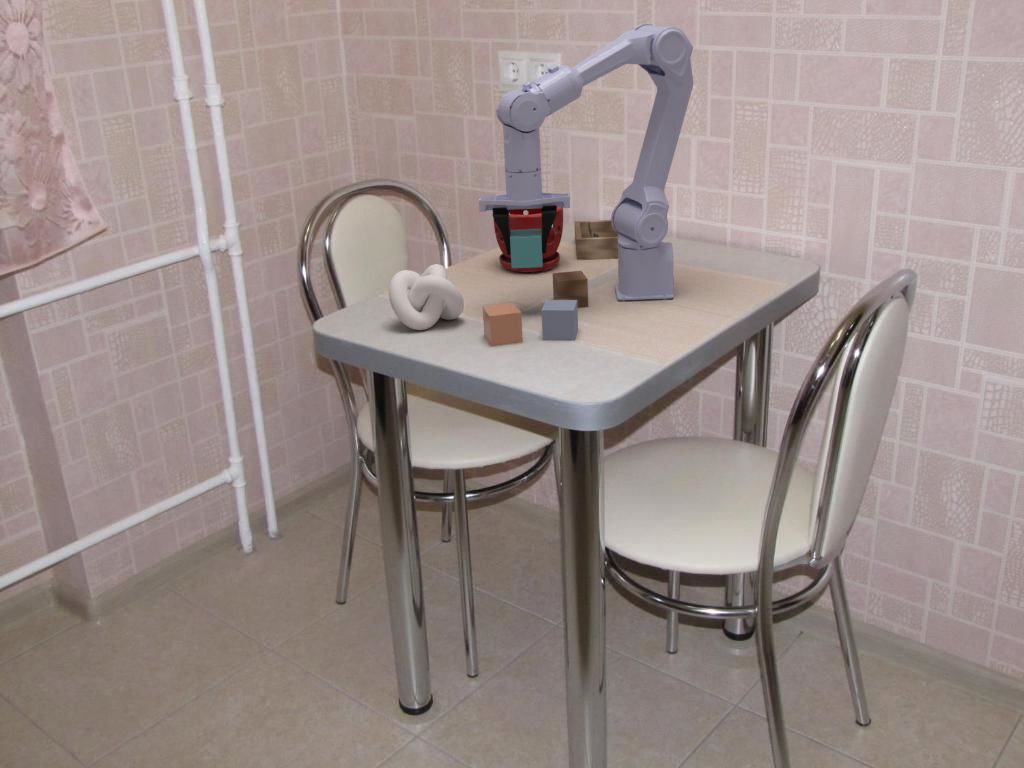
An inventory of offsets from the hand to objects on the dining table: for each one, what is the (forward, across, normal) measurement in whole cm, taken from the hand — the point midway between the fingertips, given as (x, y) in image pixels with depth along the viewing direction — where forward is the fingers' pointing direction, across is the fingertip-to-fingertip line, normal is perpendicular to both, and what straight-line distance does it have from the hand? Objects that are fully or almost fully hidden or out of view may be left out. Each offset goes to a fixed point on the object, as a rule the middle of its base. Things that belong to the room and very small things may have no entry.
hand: (526, 252), depth 173 cm
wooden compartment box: (+10, -16, -37) cm, 42 cm away
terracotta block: (+10, +4, +12) cm, 16 cm away
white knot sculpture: (+11, +16, +3) cm, 19 cm away
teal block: (+2, 0, 0) cm, 2 cm away
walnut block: (+10, -7, -4) cm, 13 cm away
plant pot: (+11, 0, -27) cm, 29 cm away
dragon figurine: (+11, -11, -37) cm, 40 cm away
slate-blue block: (+10, -5, +11) cm, 16 cm away
